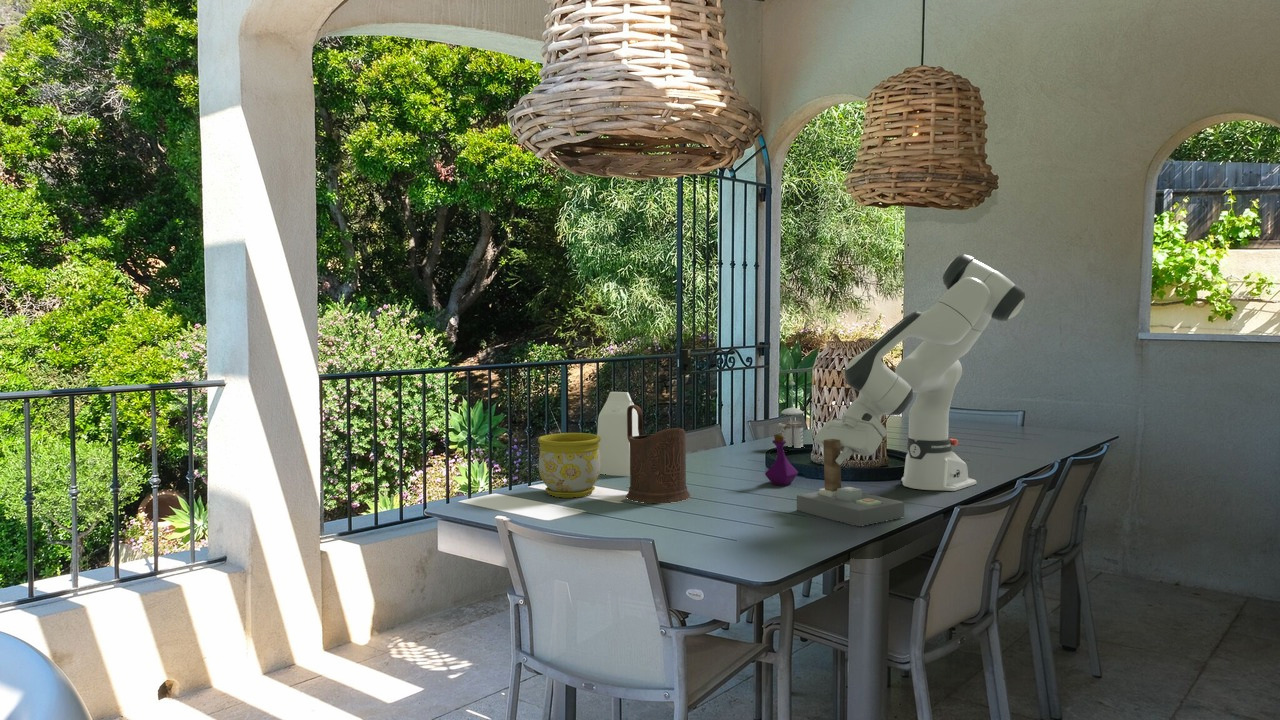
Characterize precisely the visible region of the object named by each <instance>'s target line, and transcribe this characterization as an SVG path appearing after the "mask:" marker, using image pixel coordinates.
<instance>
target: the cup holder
mask: <svg viewBox="0 0 1280 720" xmlns="http://www.w3.org/2000/svg"><path fill="white" fill-rule="evenodd" d="M633 408H634V409H635V410H636V411H637V414H638V432H639V436H632V409H633ZM627 437H628V440H629V443H630V477H629V484H630V485H629V487H628V489H629V490H628V492H627V494H626V495H625V498H626V497H627V498H628V499H630V500H633V501H638V502H644V503H671V502H678V501H682V500H686V499H688V498H690V496H691V494H690V492H689V491H688V486H687V471H686V469H687V465H686V464H687V463H686V462H687V461H686V459H687V457H686V456H687V455H686V454H687V453H686V448H687V447H686V430H685V429H684V428H681V427H675V428H668V429H663V430H659V431H658V432H656V433H651V434H645V432H644V414H643V410H642V408H641V407H640V406H638V405H637V404H634V405H630V406H629V407H628V408H627ZM690 499H691V498H690ZM686 501H687V500H686ZM644 503H643V504H644ZM678 503H679V502H678ZM671 504H672V503H671Z"/></svg>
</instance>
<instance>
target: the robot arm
mask: <svg viewBox="0 0 1280 720" xmlns="http://www.w3.org/2000/svg"><path fill="white" fill-rule="evenodd" d="M942 281H943V285H944V287H946V289H947V291H946V292H945V293H943V294H942V296H940V298H939V299H938V300H937V302H935V304H934V305H933V306H932V307H930V308H928V309H927V310H925V311H922V312H921V311H917V310H916V311H914V312H912V313H909V314H907V315H906V316H905V317H903V318H902V319H901V320H899V322H897V323H896V324H895V325H894V326H892V327H891V328H889V330H888V331H886V332H885V333H884V334H883V335H881V337H879V338H878V339H876V341H874V342H873V343H872V344H871V345H869V347H868V348H866V349H865V350H864V351H862V352H861V353H859V354H857V355H856V356H855V357H853V358H852V359H851V360H849V362H848V363H847V365H846V367H845V368H844V377H845V381H846V385H848V386H849V387H851V388H852V389H854V390H855V391H856V392H859V393H858V396H857V397H856V399H855V400H854V401H852V402H851V403H850V405H849V406H848V408H847V409H846V410H845V412H844V413H843V415H842V416H841V418H838V417H836V418H834V419H832V420H831V419H830V420H829V421H827V422H826V423H824V425H823V426H822V427H821V428H820V429H819V431H818V432H817V433H816V434H815V436H814V441H815V442H816V443H817V445H818V446H819V447H820V448H822V449H824V440H826V439H838V440H840V455H836V456H835V458H834V460H833V461H834V462H835V463H836V464H839V465H841V466H842V464H843V462H844V461H846V460H847V459H849V458H850V457H851V456H852V455H853V454H855V455H860V456H865V457H870V456H872V455H873V454H874V453H876V451H877V449H878V448H879V446H880V445H881V444H882V442H883V438H885V437H886V436H887V435H888V430H887V429H886V427H885V426H884V425H883V423H882V422H881V420H882V417H883V416H884V415H885V416H889V417H890V416H899V415H902V414H903V413H904V412H905V410H906V409H907V408H908V407H909V405H910V403H911V402H912V401H913V398H914V397H913V396H914V393H916V398H915V400H914V402H913V404H912V405H911V407H910V410H909V411H908V437H907V440H906V449H907V453H906V455H905V461H904V471H903V472H904V473H903V476H902V477H901V482H902V485H903V486H904V487H907V488H910V489H917V490H923V491H924V490H925V491H946V492H948V491H949V492H955V491H959V490H961V489H964V488H967V487H971V486H974V485H977V484H978V483H977V480H976V479H974V478H971V477H969V474H968V473H969V471H968V465H967V463H966V462H965V461H964V460H963V459H961V458H960V456H958V455H957V454H956V452H954V451H953V447H957V446H958V445H959V440H958V439H957V438H949V420H950V419H949V418H950V417H949V416H950V409H951V403H952V399H953V396H954V393H955V389H956V386H957V384H958V383H959V381H960V380H961V377H962V375H963V367H962V364H961V362H960V358H962V357H963V356H965V355H966V354H968V352H970V350H971V349H972V347H973V346H974V344H975V343H976V342H977V341H978V339H979V338H980V337H981V335H982V333H983V332H984V331H985V329H986V328H987V327H988V325H989V323H990V321H991V320H992V319H993V320H997V321H1000V322H1007V321H1009V320H1011V319H1013V318H1014V317H1016V315H1018V314H1019V313H1020V311H1021V310H1022V308H1023V306H1024V305H1025V304H1024V302H1025V300H1026V293H1025V292H1026V291H1024V290H1023V288H1021V287H1020V286H1019V284H1015V283H1014V282H1013V281H1012V280H1011V279H1009V278H1008V277H1007V276H1005V275H1004V274H1002V273H1001V271H998V270H996V269H994V268H992V267H990V266H989V265H987V264H986V263H983V262H981V261H980V260H977V259H976V258H975V257H974V256H972V255H968V254H966V253H965V254H959V255H957V257H955V258H954V259H952V260H951V261H950V262H949V263H948V264H947V265H946V267H945V269H944V273H943V276H942ZM907 338H914V339H919V340H922V342H921V343H920V344H919V345H918V346H917V347H916V348H915V349H914V350H913V351H912V352H911V353H910V354H909V355H908V356H906V357H904V358H903V359H901V360H900V361H899V362H898V363H897V365H896V367H895V370H894V371H893V370H892V369H890V367H888V366H887V365H886V364H885V363H884V362H883V361H882V358H883V357H884V356H886V355H887V354H888V353H889V352H890V351H892V350H893V349H894V348H895V347H896V346H898V345H899V344H900V343H901V342H903V340H905V339H907ZM952 446H953V447H952ZM821 459H822V460H823V461H824V454H823V455H822V456H821Z"/></svg>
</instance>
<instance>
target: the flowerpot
mask: <svg viewBox="0 0 1280 720" xmlns="http://www.w3.org/2000/svg"><path fill="white" fill-rule="evenodd" d="M600 440H601V438H600V436H598V435H597V434H594V433H588V432H587V433H586V432H585V433H584V432H562V433H561V432H560V433H553V434H546V435H541V436H539V437H538V438H537V442H538V444H539V456H538V471H539V474H540V478H541V480H542V482H543V483H544V485H545V486H546V487H545V491H546V492H547V493H548V495H549V496H550V495H552V496H551V497H553V496H555V498H559V497H563V499H574V498H573V497H576V498H582V497H581V496H584V497H586V496H585V495H587V496H589V495H588V494H590V493H591V494H593V491H594V490H596V487H595V486H594V485H595V484H596V482H597V481H598V479H599V476H600V474H599V473H600V466H601V462H600V453H599V447H600V446H599V442H600ZM591 494H590V495H591Z"/></svg>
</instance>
